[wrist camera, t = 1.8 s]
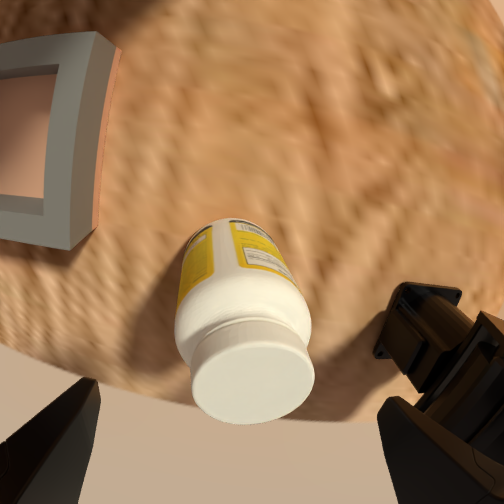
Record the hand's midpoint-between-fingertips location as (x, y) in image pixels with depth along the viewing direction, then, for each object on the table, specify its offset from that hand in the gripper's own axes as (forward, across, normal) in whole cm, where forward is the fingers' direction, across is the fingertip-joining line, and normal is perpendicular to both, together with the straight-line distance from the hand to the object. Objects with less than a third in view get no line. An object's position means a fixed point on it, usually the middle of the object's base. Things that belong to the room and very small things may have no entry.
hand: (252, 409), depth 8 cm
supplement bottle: (+11, 0, 0) cm, 11 cm away
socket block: (+11, +13, -6) cm, 18 cm away
